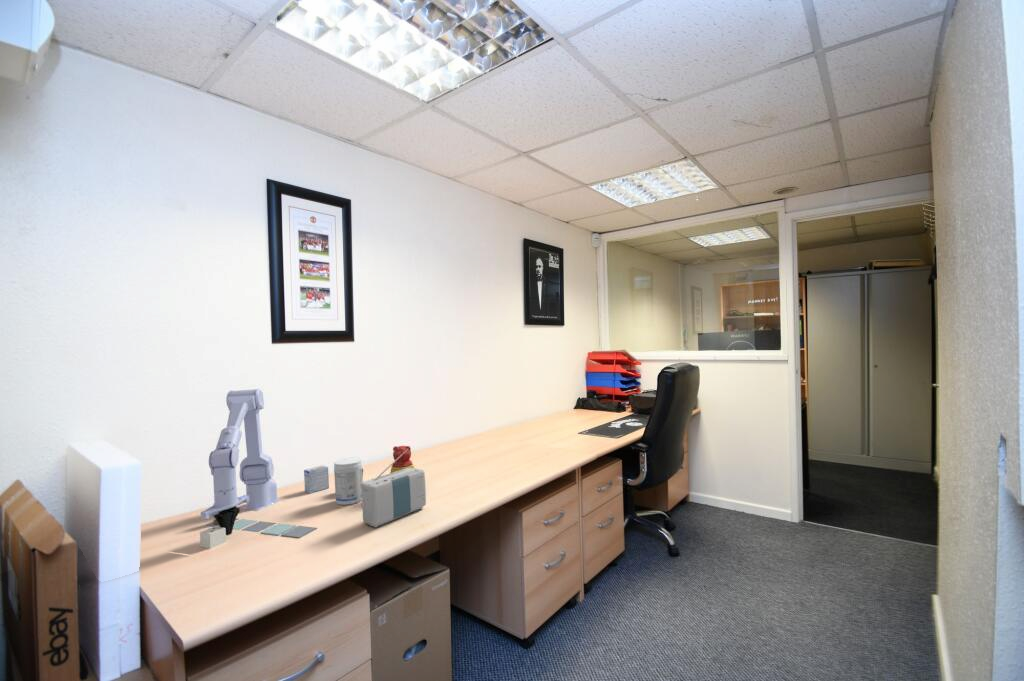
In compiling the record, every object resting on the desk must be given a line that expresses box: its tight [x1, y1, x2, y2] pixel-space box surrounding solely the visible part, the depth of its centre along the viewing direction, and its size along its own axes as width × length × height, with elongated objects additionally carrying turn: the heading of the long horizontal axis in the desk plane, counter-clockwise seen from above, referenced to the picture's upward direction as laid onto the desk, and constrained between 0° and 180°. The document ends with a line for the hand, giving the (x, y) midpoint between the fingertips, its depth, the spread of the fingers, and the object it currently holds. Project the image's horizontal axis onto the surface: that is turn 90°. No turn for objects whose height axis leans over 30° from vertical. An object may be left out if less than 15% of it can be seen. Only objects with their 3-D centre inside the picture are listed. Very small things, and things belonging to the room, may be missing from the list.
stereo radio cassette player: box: [361, 449, 427, 528], centre depth 150 cm, size 21×8×20 cm, turn 143°
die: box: [199, 526, 227, 550], centre depth 133 cm, size 4×4×5 cm
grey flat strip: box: [204, 518, 318, 539], centre depth 145 cm, size 7×39×1 cm, turn 71°
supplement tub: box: [333, 456, 364, 506], centre depth 167 cm, size 10×10×15 cm
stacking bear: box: [389, 445, 415, 474], centre depth 173 cm, size 11×10×18 cm
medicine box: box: [303, 464, 330, 494], centre depth 181 cm, size 8×4×9 cm, turn 141°
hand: (227, 534), depth 137 cm, fingers closed
